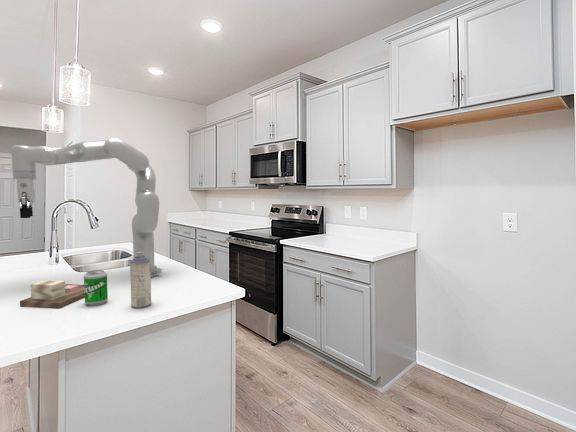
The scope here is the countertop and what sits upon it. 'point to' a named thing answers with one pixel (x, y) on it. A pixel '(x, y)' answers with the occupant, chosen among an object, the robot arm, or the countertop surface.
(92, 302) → the soda can
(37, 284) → the block
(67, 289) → the eraser piece
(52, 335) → the countertop surface
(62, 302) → the board
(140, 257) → the aerosol can
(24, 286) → the countertop surface
